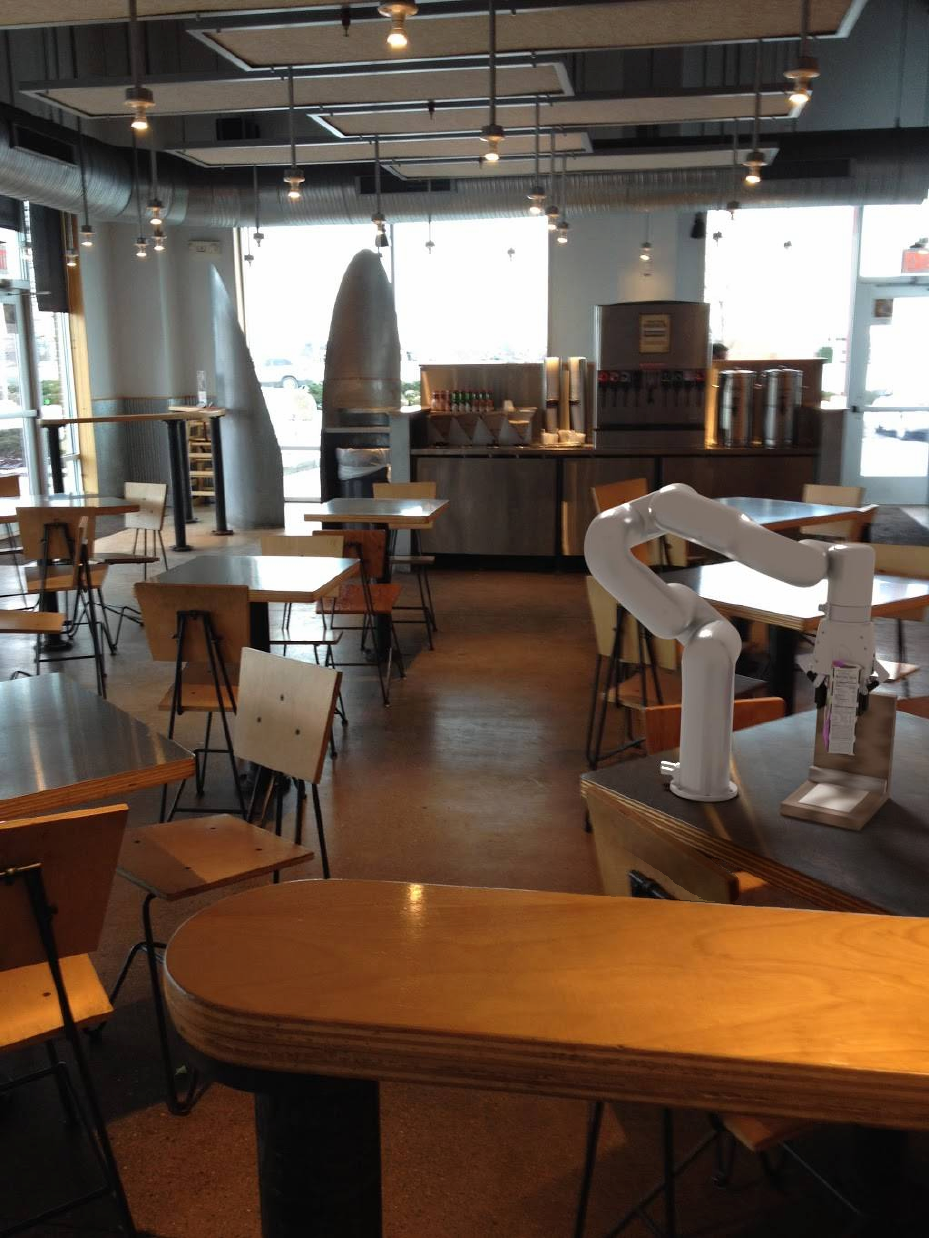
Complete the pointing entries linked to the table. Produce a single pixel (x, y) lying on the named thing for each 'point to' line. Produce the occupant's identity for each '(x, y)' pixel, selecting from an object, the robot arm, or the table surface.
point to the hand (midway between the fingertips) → (840, 710)
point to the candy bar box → (841, 708)
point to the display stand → (850, 771)
